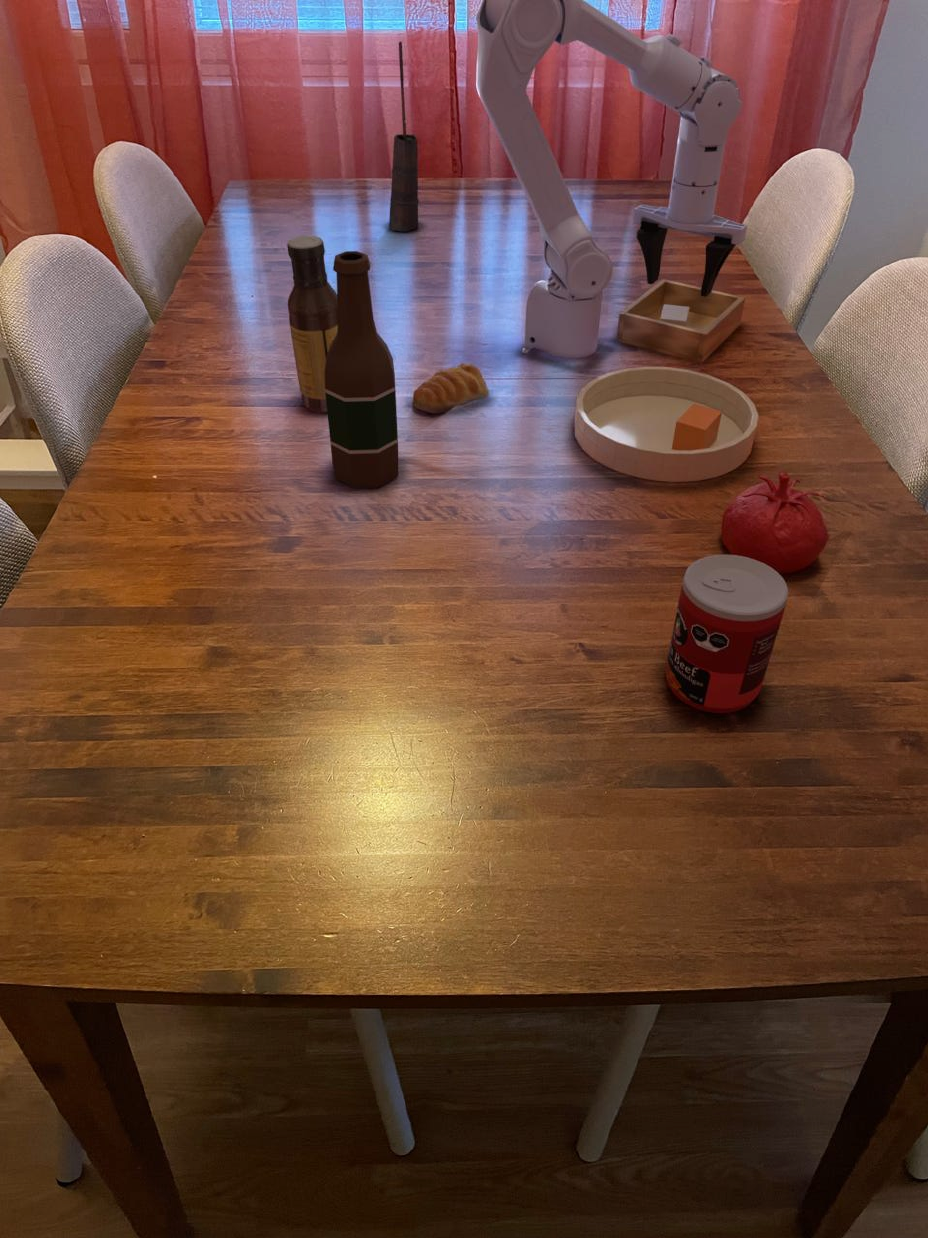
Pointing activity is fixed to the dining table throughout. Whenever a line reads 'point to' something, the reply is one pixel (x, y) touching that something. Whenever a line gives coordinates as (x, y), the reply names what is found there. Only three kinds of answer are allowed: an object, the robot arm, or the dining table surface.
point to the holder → (695, 342)
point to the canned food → (724, 632)
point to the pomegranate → (775, 525)
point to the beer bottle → (360, 384)
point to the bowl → (661, 423)
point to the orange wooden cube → (696, 428)
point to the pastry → (450, 389)
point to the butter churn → (404, 174)
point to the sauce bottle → (311, 318)
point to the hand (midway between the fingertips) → (678, 287)
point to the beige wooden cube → (675, 315)
